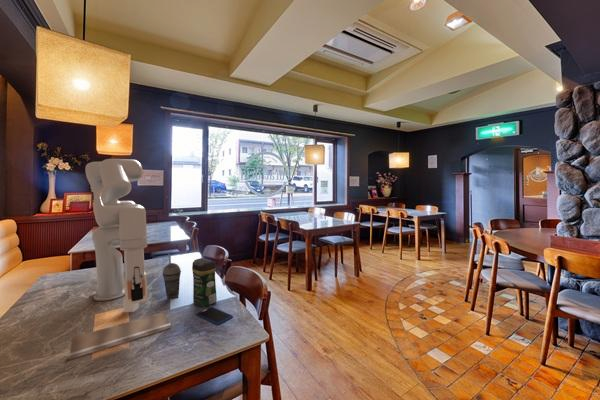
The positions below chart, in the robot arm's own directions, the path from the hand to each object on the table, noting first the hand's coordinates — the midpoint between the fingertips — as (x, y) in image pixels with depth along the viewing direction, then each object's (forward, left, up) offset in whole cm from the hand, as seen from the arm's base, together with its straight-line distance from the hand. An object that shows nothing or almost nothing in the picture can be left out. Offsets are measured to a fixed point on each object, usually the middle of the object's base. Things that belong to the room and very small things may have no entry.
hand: (136, 296), depth 86 cm
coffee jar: (+11, +24, -13) cm, 29 cm away
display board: (-4, -2, -13) cm, 13 cm away
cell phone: (+20, +14, -13) cm, 28 cm away
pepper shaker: (-13, +12, -13) cm, 22 cm away
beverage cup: (-5, +26, -13) cm, 29 cm away
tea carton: (0, 0, -1) cm, 1 cm away
